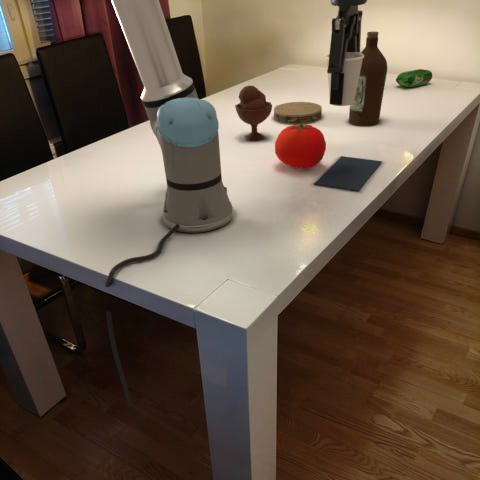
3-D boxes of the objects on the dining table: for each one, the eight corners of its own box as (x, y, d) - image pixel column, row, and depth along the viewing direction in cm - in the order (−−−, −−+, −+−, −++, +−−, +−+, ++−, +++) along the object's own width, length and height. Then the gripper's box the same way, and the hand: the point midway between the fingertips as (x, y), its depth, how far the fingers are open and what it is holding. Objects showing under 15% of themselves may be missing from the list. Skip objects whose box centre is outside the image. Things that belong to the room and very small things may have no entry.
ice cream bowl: (270, 144, 144) (269, 89, 135) (233, 143, 146) (229, 89, 137) (275, 132, 152) (274, 80, 143) (240, 132, 154) (237, 80, 145)
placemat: (358, 191, 114) (358, 190, 114) (314, 184, 118) (314, 183, 118) (381, 162, 128) (381, 161, 127) (341, 157, 132) (341, 156, 132)
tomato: (333, 163, 129) (335, 121, 123) (311, 179, 121) (312, 135, 115) (289, 155, 136) (289, 115, 129) (265, 170, 128) (265, 128, 121)
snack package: (391, 87, 189) (393, 72, 186) (420, 80, 195) (422, 66, 191) (404, 91, 184) (406, 76, 181) (434, 84, 190) (437, 69, 186)
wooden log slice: (276, 126, 157) (276, 116, 156) (271, 112, 170) (271, 103, 168) (325, 123, 157) (325, 113, 155) (317, 109, 170) (317, 100, 168)
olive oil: (366, 115, 162) (375, 28, 146) (387, 122, 154) (399, 31, 139) (340, 121, 158) (346, 32, 143) (361, 129, 150) (370, 36, 135)
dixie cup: (323, 108, 112) (326, 59, 106) (323, 98, 118) (325, 52, 112) (361, 107, 111) (365, 58, 105) (358, 97, 117) (362, 50, 111)
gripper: (352, -14, 91) (343, 112, 105) (381, -23, 106) (370, 89, 120) (314, -13, 94) (310, 110, 108) (348, -22, 109) (340, 87, 123)
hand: (342, 99), depth 114 cm, fingers closed on dixie cup, 8 cm apart
